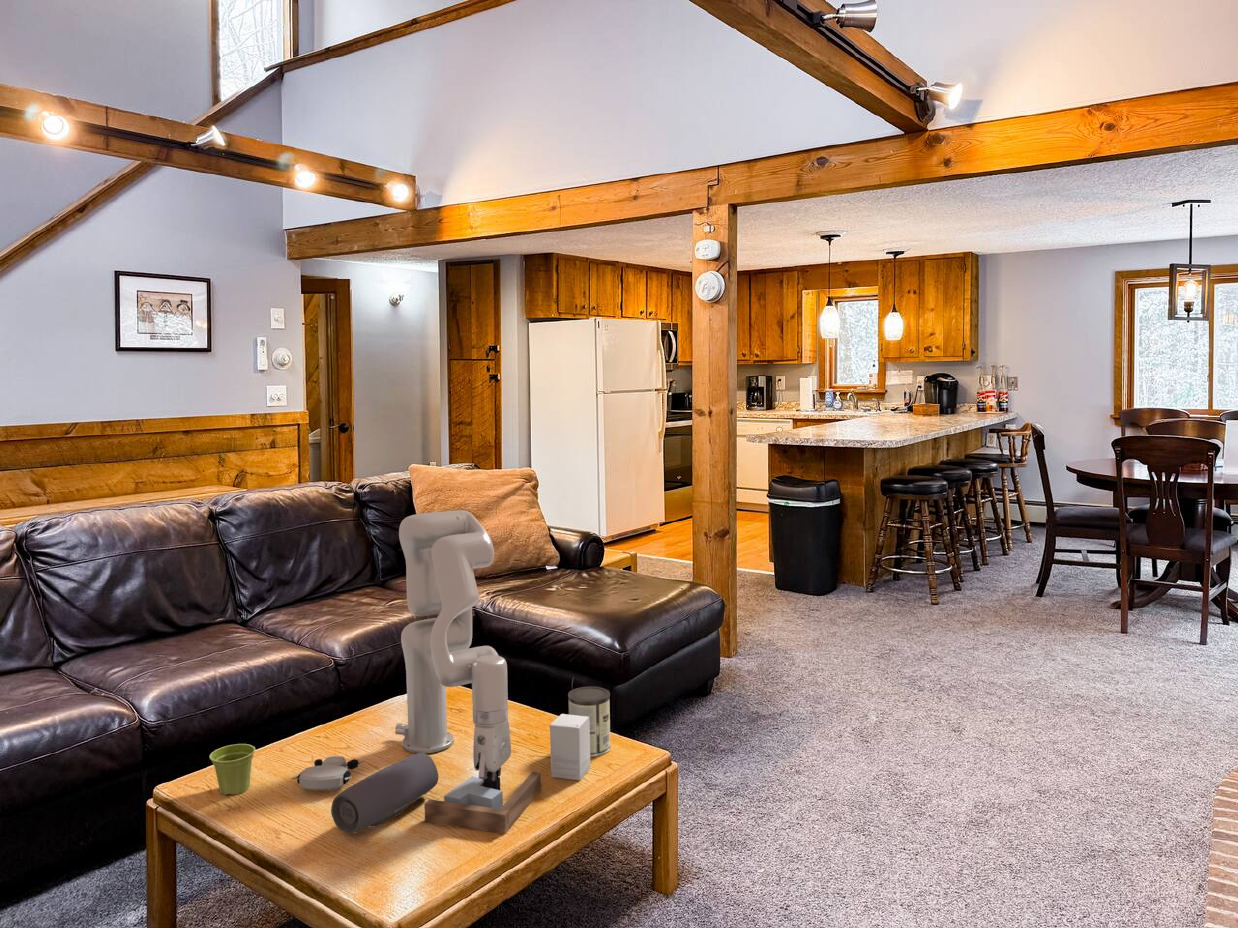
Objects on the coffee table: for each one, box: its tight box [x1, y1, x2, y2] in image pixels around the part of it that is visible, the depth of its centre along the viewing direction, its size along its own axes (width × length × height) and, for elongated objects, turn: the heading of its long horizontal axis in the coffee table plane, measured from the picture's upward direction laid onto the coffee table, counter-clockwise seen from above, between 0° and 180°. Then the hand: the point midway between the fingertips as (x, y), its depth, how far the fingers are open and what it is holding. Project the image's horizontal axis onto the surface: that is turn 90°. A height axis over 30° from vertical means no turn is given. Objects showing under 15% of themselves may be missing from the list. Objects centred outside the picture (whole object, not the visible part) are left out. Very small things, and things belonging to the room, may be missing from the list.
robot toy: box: [290, 755, 363, 791], centre depth 206 cm, size 12×4×15 cm
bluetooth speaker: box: [330, 753, 439, 835], centre depth 190 cm, size 23×9×10 cm, turn 149°
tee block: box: [443, 776, 504, 809], centre depth 193 cm, size 10×10×4 cm
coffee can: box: [567, 686, 611, 758], centre depth 222 cm, size 10×10×14 cm
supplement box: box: [549, 713, 591, 782], centre depth 209 cm, size 7×7×13 cm
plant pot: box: [209, 743, 256, 796], centre depth 202 cm, size 9×9×9 cm
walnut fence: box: [424, 771, 542, 834], centre depth 194 cm, size 18×20×4 cm
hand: (492, 795), depth 196 cm, fingers closed
